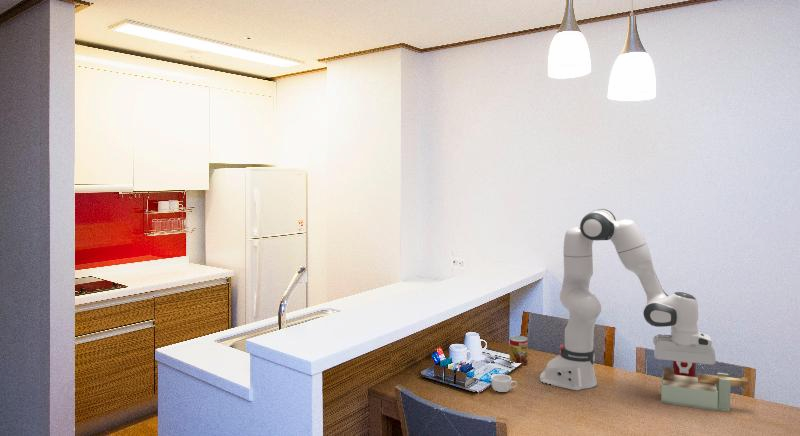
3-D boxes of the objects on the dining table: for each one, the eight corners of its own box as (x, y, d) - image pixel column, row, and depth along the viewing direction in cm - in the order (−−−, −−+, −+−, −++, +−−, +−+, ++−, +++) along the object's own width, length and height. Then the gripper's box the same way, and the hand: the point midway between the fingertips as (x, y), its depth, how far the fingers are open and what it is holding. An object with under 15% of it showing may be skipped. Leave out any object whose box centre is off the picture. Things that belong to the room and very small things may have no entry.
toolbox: (661, 402, 202) (662, 372, 201) (660, 393, 210) (661, 364, 209) (730, 412, 193) (731, 381, 192) (726, 402, 201) (727, 372, 200)
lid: (663, 384, 201) (663, 372, 200) (662, 376, 209) (662, 364, 209) (716, 392, 194) (717, 379, 193) (713, 382, 202) (714, 370, 201)
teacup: (490, 393, 213) (490, 380, 212) (492, 386, 220) (492, 373, 220) (516, 396, 210) (516, 382, 210) (517, 388, 218) (517, 375, 217)
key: (698, 383, 198) (698, 375, 198) (697, 379, 202) (697, 371, 202) (748, 389, 192) (748, 381, 192) (746, 385, 195) (746, 377, 195)
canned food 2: (697, 389, 214) (698, 361, 213) (675, 387, 215) (676, 360, 214) (691, 381, 221) (692, 355, 220) (670, 380, 223) (670, 354, 222)
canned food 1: (524, 368, 238) (524, 342, 237) (507, 365, 242) (507, 339, 241) (529, 363, 245) (529, 337, 244) (512, 360, 249) (512, 334, 248)
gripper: (653, 336, 202) (653, 372, 203) (716, 341, 193) (716, 379, 195) (653, 331, 208) (653, 366, 209) (714, 336, 199) (714, 372, 200)
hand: (684, 372), depth 202 cm, fingers closed
